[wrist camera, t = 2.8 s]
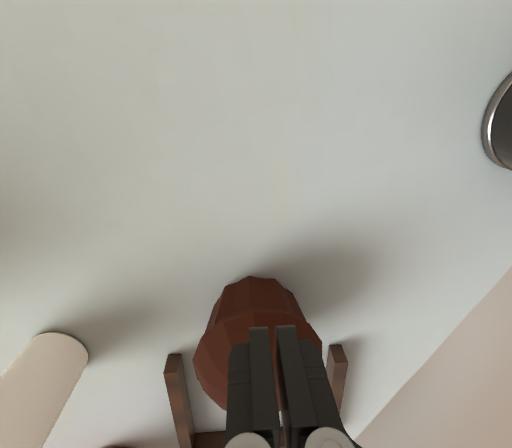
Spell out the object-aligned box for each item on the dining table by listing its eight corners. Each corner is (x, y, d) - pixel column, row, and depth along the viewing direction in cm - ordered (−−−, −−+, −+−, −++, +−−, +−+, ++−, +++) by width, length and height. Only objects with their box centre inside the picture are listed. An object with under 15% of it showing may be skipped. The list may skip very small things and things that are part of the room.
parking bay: (168, 354, 34) (163, 373, 32) (341, 344, 35) (348, 362, 33) (185, 440, 42) (182, 460, 40) (328, 430, 43) (333, 449, 40)
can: (99, 366, 35) (36, 494, 24) (45, 375, 35) (-42, 507, 24) (75, 325, 32) (-9, 449, 21) (17, 335, 32) (-96, 464, 21)
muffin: (257, 244, 29) (266, 318, 20) (328, 305, 33) (363, 390, 24) (179, 314, 32) (156, 405, 23) (252, 362, 36) (256, 456, 27)
